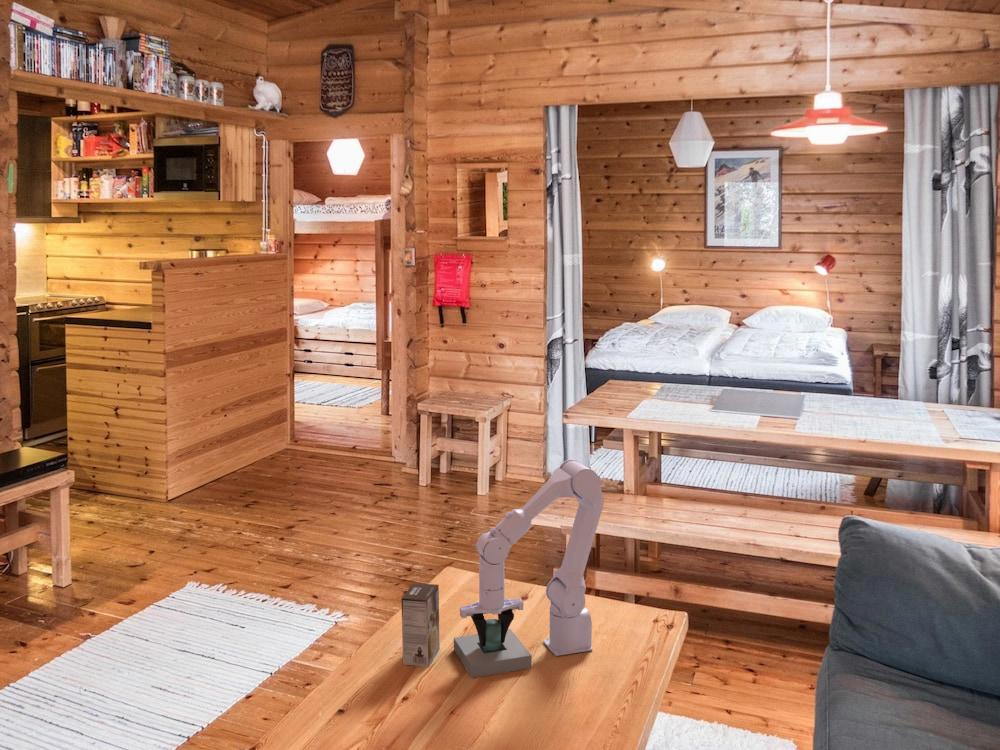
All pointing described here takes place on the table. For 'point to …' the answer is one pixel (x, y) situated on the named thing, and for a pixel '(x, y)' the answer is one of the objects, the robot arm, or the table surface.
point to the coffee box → (420, 624)
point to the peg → (492, 636)
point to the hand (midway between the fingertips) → (491, 642)
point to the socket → (492, 655)
